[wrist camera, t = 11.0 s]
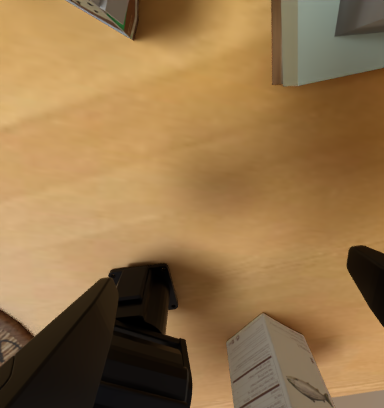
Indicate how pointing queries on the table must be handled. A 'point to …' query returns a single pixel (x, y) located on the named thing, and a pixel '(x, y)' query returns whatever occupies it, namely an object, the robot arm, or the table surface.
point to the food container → (113, 13)
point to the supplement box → (274, 368)
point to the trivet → (11, 337)
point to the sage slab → (323, 44)
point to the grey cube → (360, 17)
